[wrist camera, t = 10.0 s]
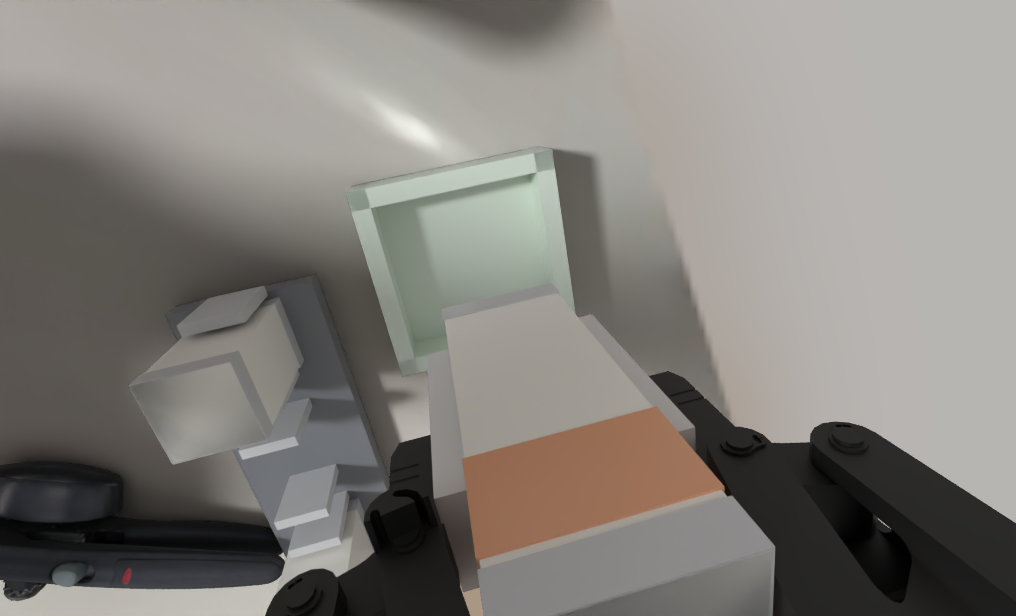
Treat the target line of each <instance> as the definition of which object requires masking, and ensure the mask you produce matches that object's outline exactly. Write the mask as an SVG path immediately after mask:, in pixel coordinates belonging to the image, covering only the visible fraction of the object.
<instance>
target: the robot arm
mask: <svg viewBox="0 0 1016 616" xmlns="http://www.w3.org/2000/svg"><path fill="white" fill-rule="evenodd" d="M578 318H579V319H580V320H581V321H582V323H583V324H584V325H585V326H586V327H587V329H588V330H589V331H590V332H591V333H592V335H593V336H594V337H595V338H596V339H597V341H598V342H599V343H600V344H601V345H602V347H603V348H604V349H605V350H606V351H607V353H608V354H609V355H610V356H611V357H612V359H613V360H614V361H615V362H616V363H617V365H618V366H619V367H620V368H621V369H622V371H623V372H624V373H625V374H626V375H627V377H628V378H629V379H630V380H631V381H632V383H633V384H634V385H635V386H636V387H637V389H638V390H639V391H640V392H641V394H642V395H643V396H644V397H645V398H646V400H647V401H648V402H649V403H650V404H651V406H652V407H656V406H657V408H658V409H659V410H660V411H661V412H662V413H663V415H664V416H665V417H666V418H667V419H668V421H669V422H670V423H671V424H672V425H673V426H674V428H675V429H676V430H677V431H678V432H679V434H680V435H681V436H682V437H683V438H684V439H685V441H686V442H687V443H688V444H689V445H690V446H691V448H692V449H693V450H694V451H695V452H696V454H697V455H698V456H699V457H700V458H701V459H702V461H703V462H704V463H705V464H706V465H707V467H708V468H709V469H710V470H711V471H712V472H713V474H714V475H715V476H716V477H717V478H718V480H719V481H720V482H721V483H722V484H723V485H724V488H725V494H726V496H727V497H728V496H733V497H734V498H735V500H736V501H737V502H738V503H739V504H740V506H741V507H742V508H743V509H744V510H745V511H746V513H747V514H748V515H749V516H750V517H751V518H752V520H753V521H754V522H755V523H756V524H757V526H758V527H759V528H760V529H761V530H762V531H763V533H764V534H765V535H766V536H767V537H768V539H769V540H770V541H771V542H772V543H773V544H774V546H775V567H774V593H773V616H1016V523H1014V522H1013V521H1011V520H1010V519H1008V518H1007V517H1005V516H1004V515H1002V514H1000V513H999V512H997V511H996V510H994V509H993V508H991V507H990V506H988V505H987V504H985V503H983V502H982V501H980V500H979V499H977V498H976V497H974V496H973V495H971V494H970V493H968V492H967V491H965V490H963V489H962V488H960V487H959V486H957V485H956V484H954V483H953V482H951V481H949V480H948V479H946V478H945V477H943V476H942V475H940V474H938V473H937V472H935V471H934V470H932V469H931V468H929V467H928V466H926V465H925V464H923V463H922V462H920V461H918V460H917V459H915V458H914V457H912V456H911V455H909V454H908V453H906V452H904V451H903V450H901V449H900V448H898V447H897V446H895V445H894V444H892V443H891V442H889V441H887V440H886V439H884V438H883V437H881V436H880V435H878V434H877V433H875V432H873V431H871V430H869V429H867V428H865V427H863V426H859V425H855V424H852V423H846V422H829V423H822V424H821V425H819V426H817V427H815V428H814V429H813V431H812V433H811V434H810V435H811V436H810V443H809V442H808V443H771V442H770V441H769V440H768V439H767V438H766V437H765V436H764V435H763V434H760V433H759V432H756V431H754V430H752V429H748V428H743V427H735V426H734V425H733V424H732V423H731V422H730V421H729V420H728V419H727V418H725V417H724V416H723V415H722V414H721V413H720V412H719V411H718V410H717V409H716V408H715V407H714V406H713V405H712V404H711V403H710V402H709V401H708V400H707V399H704V397H703V396H702V395H701V394H700V393H699V392H698V391H697V390H695V388H694V387H693V386H692V385H691V384H690V383H689V382H688V381H687V380H686V379H685V378H683V377H680V376H678V375H676V374H674V373H671V372H669V371H667V372H663V373H660V374H656V375H652V376H648V375H647V374H646V373H645V372H644V371H643V370H642V369H641V367H640V366H639V365H638V364H637V363H636V362H635V361H634V360H633V359H632V358H631V356H630V355H629V354H628V353H627V352H626V351H625V350H624V349H623V348H622V347H621V346H620V344H619V343H618V342H617V341H616V340H615V339H614V338H613V337H612V336H611V335H610V334H609V332H608V331H607V330H606V329H605V328H604V327H603V326H602V325H601V324H600V323H599V322H598V320H597V319H596V318H595V317H594V316H593V315H592V314H590V315H586V316H582V317H578ZM427 370H428V390H429V411H430V432H431V435H428V436H424V437H421V438H417V439H413V440H409V441H405V442H402V443H399V445H398V447H397V448H396V450H395V452H394V453H393V455H392V457H391V467H390V472H391V474H390V481H389V483H390V486H389V490H387V491H386V492H384V493H382V494H380V495H379V496H378V497H377V498H376V499H375V500H374V501H373V502H371V503H370V505H369V507H368V508H367V510H366V512H365V514H364V526H365V528H366V531H367V534H368V536H369V539H370V541H371V544H372V546H373V549H374V551H375V552H374V553H373V554H371V555H370V556H369V557H368V558H367V559H366V560H365V561H363V562H362V563H360V564H359V565H357V566H355V567H354V568H352V569H350V570H348V571H347V572H345V573H343V574H341V575H340V576H338V577H336V576H335V574H334V573H333V572H332V571H329V570H327V569H324V568H321V569H311V570H309V571H306V572H304V573H301V574H299V575H297V576H296V577H294V578H293V579H291V580H290V581H289V582H287V583H286V584H285V585H284V586H283V587H282V588H281V589H280V590H279V591H278V592H277V594H276V595H275V596H274V598H273V599H272V601H271V603H270V605H269V607H268V609H267V612H266V615H265V616H470V614H469V611H468V608H467V605H466V602H465V600H464V597H463V594H462V591H461V588H460V584H461V587H462V590H463V592H466V591H469V590H472V589H476V588H479V579H478V572H477V570H478V569H479V568H478V565H477V562H476V557H475V550H474V543H473V536H472V528H471V521H470V514H469V507H468V499H467V492H466V485H465V478H464V470H463V463H462V458H465V457H464V450H463V443H462V437H461V430H460V423H459V416H458V409H457V402H456V395H455V389H454V382H453V375H452V368H451V361H450V354H449V349H448V350H444V351H440V352H436V353H432V354H428V355H427ZM878 518H879V519H880V520H881V521H882V522H884V523H885V524H886V525H887V526H889V527H890V528H891V529H890V528H888V527H887V526H885V525H884V524H883V523H881V522H880V521H879V520H878Z"/></svg>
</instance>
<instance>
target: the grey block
mask: <svg viewBox="0 0 1016 616" xmlns="http://www.w3.org/2000/svg"><path fill="white" fill-rule="evenodd" d="M364 514H365V513H364V510H363V508H362V505H361V503H360V500H359V498H356V499H353V500H349V503H348V509H347V515H346V521H345V527H344V533H343V538H342V544H341V545H337V546H333V547H330V548H326V549H323V550H319V551H316V552H312V553H309V554H305V555H302V556H298V557H295V558H291V557H290V555H289V553H288V555H287V558H286V562H285V565H284V569H283V572H282V575H281V579H280V582H279V586H278V589H277V592H278V591H279V590H280V589H281V588H282V587H283V586H284V585H285V584H286V583H287V582H289V581H290V580H291V579H293V578H294V577H296V576H297V575H299V574H301V573H304V572H306V571H309V570H311V569H321V568H324V569H327V570H329V571H332V572H333V573H334V574H335V576H336V577H338V576H340V575H341V574H343V573H345V572H347V571H348V570H350V569H352V568H354V567H355V566H357V565H359V564H360V563H362V562H363V561H365V560H366V559H367V558H368V557H369V556H370V555H371V554H373V553H374V552H375V551H374V549H373V546H372V544H371V541H370V539H369V536H368V534H367V531H366V528H365V526H364ZM276 594H277V593H276Z"/></svg>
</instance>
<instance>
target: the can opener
mask: <svg viewBox="0 0 1016 616" xmlns="http://www.w3.org/2000/svg"><path fill="white" fill-rule="evenodd" d="M122 508H123V481H122V478H121V477H120V476H119V475H117V474H115V473H112V472H111V471H107V470H104V469H101V468H96V467H92V466H87V465H80V464H72V463H61V462H24V463H14V464H7V465H1V466H0V580H4V581H3V582H4V583H5V587H4V588H3V590H4V595H5V596H6V597H7V598H8V599H10V600H11V601H13V600H15V601H20V600H25V599H28V598H31V597H33V596H35V595H36V594H37V593H38V592H39V591H40V590H41V589H42V588H43V587H44V586H45V585H46V584H56V585H60V586H64V587H71V586H83V587H104V588H130V589H202V588H224V587H239V586H252V585H262V584H269V583H271V582H273V581H275V580H277V579H278V578H279V577H280V576H281V575H282V572H283V569H284V565H285V561H284V560H283V559H282V558H281V557H280V556H279V555H280V554H282V553H283V550H282V548H281V546H280V544H279V542H278V540H277V538H276V536H275V534H274V532H273V530H272V528H265V527H259V526H252V525H243V524H232V523H219V522H196V521H156V520H137V519H128V518H122V517H117V516H112V515H113V514H115V513H117V512H118V511H121V510H122Z"/></svg>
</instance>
